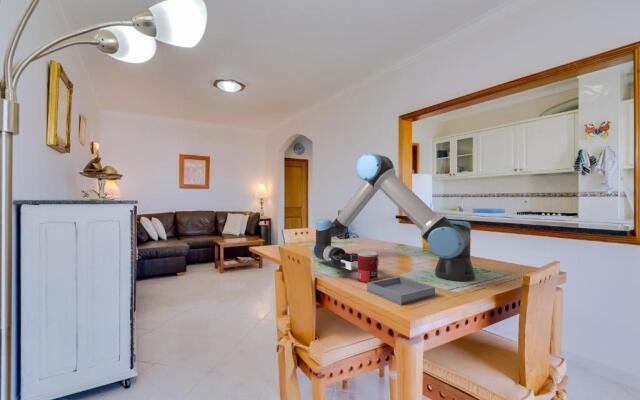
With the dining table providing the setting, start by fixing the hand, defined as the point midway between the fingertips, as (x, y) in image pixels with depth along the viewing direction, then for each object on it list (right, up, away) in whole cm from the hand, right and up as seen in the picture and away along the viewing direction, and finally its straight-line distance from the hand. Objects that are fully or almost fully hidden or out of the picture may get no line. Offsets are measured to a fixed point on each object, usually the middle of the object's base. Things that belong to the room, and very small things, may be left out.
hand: (365, 264), depth 121 cm
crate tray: (+10, -7, -16) cm, 20 cm away
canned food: (+1, -7, -1) cm, 7 cm away
